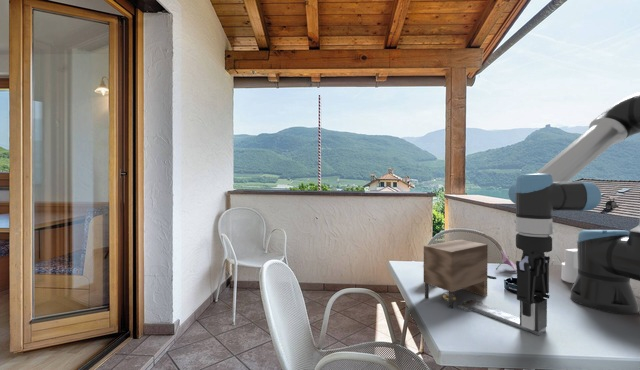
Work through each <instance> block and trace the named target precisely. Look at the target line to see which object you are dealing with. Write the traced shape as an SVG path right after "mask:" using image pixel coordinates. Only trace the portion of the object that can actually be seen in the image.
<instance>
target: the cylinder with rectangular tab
mask: <svg viewBox="0 0 640 370" xmlns="http://www.w3.org/2000/svg"><path fill="white" fill-rule="evenodd" d="M577 275H578V248H568V249H564V262H561V280H562V281H564V282H566V283H569V284H573V283H574V282H575V280H576V278H577Z"/></svg>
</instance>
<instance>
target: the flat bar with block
mask: <svg viewBox="0 0 640 370" xmlns="http://www.w3.org/2000/svg"><path fill="white" fill-rule="evenodd" d="M533 303H535V330H531V329H528V328H525V327H523V326H521V301H519V316H515V315H514V314H510V313H507V312H505V311H502V310H500V309H496V308H493V307H490V306H488V305H485V304H484V302H483V301H482V300H478V299H475V298H471V299H469V300H465V301H464V302H461V303H458V305H457V308H458V309H461V310H463V309H464V310H463V311H466V312H469V310H470V311H474V312H477V313H479V314H482V315H484V316H487V317H490V318H492V319H495V320H497V321H500V322H503V323H505V324H508V325H511V326H514V327H516V328H519V329H521V330H523V331H526V332H529V333H532V334H534V335H537V336H540V335H542V334H544V333H545V332H546V331H547V327H548V325H547V324H548V318H547V317H548V298H541V297H538V296H536V295H534V299H533Z"/></svg>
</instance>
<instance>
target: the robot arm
mask: <svg viewBox="0 0 640 370" xmlns="http://www.w3.org/2000/svg"><path fill="white" fill-rule="evenodd" d="M637 134H640V92H639V91H638V92H636V93H634V94H632V95H629V96H627V97H624V98H623V99H621V100H620V101H618V102H616V103H614V104H613V105H612V106H610V107H609V108H607V109H606V110H604V111H603V112H602V113H601V114H600V115H598V116H597V117H596V118H594V119H593V120H592V121H591V122H590V123H589V126H588V129H587V130H586V131H584V132H583V133H582V134H581V135H579V136H578V137H577V138H576V139H575V140H573V141H572V142H571V143H569V144H568V146H566V147H565V148H564V149H563V150H562V151H560V152H559V153H557V155H555V156H554V157H553V158H552V159H551V160H549V161H548V162H547V163H545V165H543V166H542V167H540V169H538V170H537V171H536V172H535V173H524V174H519V175H517V177H516V179H515V181H516V182H514V183H512V184H511V185H510V187H509V188H508V193H507V194H508V198H509V200H510V201H511V203H513V204H515V219H514V220H513V221H514V223H515V231H516V232H517V233H516V234H515V247H516V248H517V249H519V250H521V251H522V255H521V257H520V259H521V260H520V261H519V260H516V261H515V266H516V272H517V273H516V300H517V301H519V302H520V301H521V326H523V327H525V328H528V329H531V330H535V303H533V299H534V296H538V297H541V298H545V299H547V300H549V299H550V297H551V295H550V294H549V293H550V272H549V271H550V259H551V258H550V256H549V255H545V253H549V252H552V251H553V237H552V235H553V233H554V232H553V212H556V211H558V212H560V211H561V212H562V211H563V212H565V211H566V212H567V211H568V212H569V211H571V212H572V211H573V212H576V211H577V212H582V211H591V210H594V209H596V208H597V207H598V206H599V205H600V204H601V200H602V192H601V190H600V188H599V187H598V186H597V184H595V183H593V182H589V181H582V180H580V181H571V180H572V179H573V178H574V177H575V176H577V175H578V174H579V173H581V172H582V170H584V169H585V168H587V166H588V165H590V164H591V163H592V162H593V161H595V160H596V159H597V158H598V157H600V155H603V153H604V152H606V151H607V150H608V149H609V148H610V147H612V146H613V145H615V144H619V143H622V142H624V141H625V140H626V139H627V138H628V137H630V136H631V137H632V136H633V135H637ZM577 237H578V239H577V242H576V243H577V245H576V246H577V248H576V249H578V275H577V278H576V280H575V282H574V284H573V283H572V287H571V289H570V299H571V300H572V301H574V302H575V303H577V304H580V305H582V306H584V307H587V308H590V309H594V310H598V311H602V312H607V313H612V314H621V315H635V314H638V313H639V311H640V308H639V306H640V305H639V301H638V299H637V297H636V294H635V293H634V290H633V287H632V284H631V280H634V281H638V282H640V220H639V221H638V225H637V226H635V227H634V228H631V229H630V230H624V229H622V230H621V229H583V230H581V231H579V232H578V236H577Z"/></svg>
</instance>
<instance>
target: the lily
mask: <svg viewBox="0 0 640 370" xmlns="http://www.w3.org/2000/svg"><path fill="white" fill-rule="evenodd" d="M499 246H500V245H499ZM500 248H501V250H500V252H501V253H502V257H503V258H502V262H500V264H498V266H497V267H496V268H495V270H498V269H499V267H500V266H501V265H503V264H506V265H508V266H509V267H511V268H513V270H514V271H515V273H516V274H517V267H516V264H514V262H513V261H512V258H508V256H507V254H506V252H505V250H504V249H503V248H502V247H501V246H500Z"/></svg>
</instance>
